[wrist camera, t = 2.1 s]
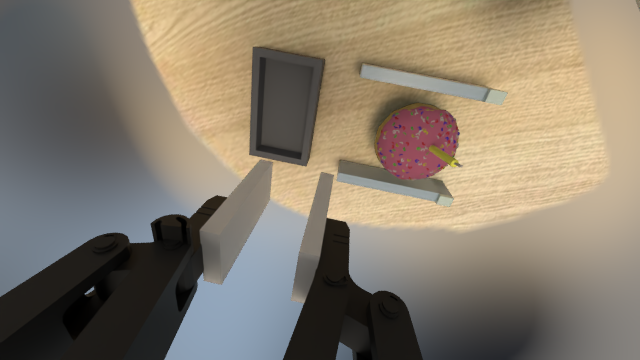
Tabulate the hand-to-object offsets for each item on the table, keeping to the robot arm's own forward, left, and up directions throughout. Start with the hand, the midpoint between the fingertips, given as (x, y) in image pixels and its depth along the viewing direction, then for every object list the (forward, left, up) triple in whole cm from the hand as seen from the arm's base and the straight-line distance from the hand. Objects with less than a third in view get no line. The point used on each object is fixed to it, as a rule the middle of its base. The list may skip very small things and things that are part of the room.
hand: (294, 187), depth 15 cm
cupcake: (0, +10, -19) cm, 21 cm away
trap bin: (0, -5, -19) cm, 19 cm away
